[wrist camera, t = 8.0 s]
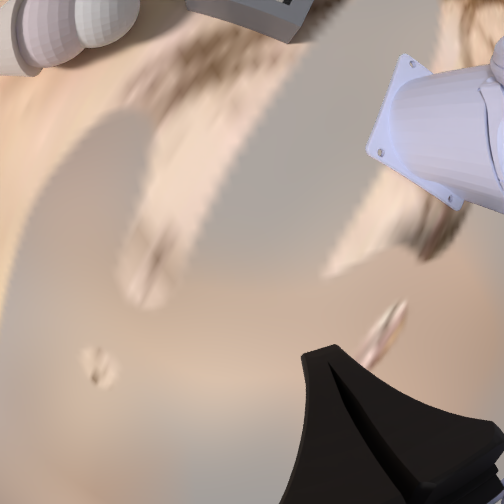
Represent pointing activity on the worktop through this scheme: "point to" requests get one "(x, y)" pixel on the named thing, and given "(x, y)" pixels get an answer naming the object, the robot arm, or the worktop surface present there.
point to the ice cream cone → (58, 31)
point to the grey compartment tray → (257, 14)
